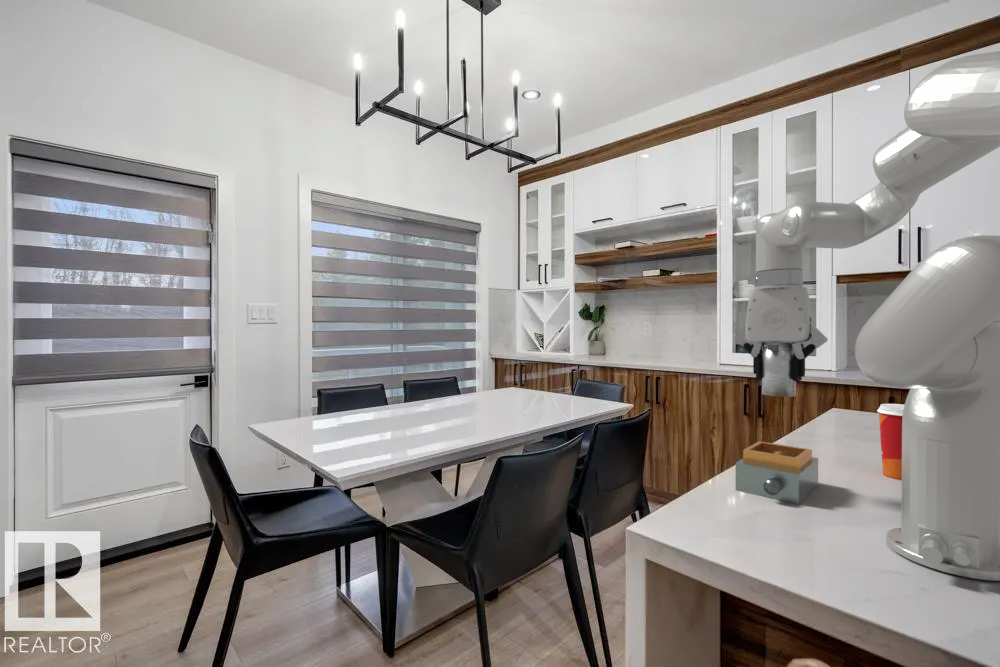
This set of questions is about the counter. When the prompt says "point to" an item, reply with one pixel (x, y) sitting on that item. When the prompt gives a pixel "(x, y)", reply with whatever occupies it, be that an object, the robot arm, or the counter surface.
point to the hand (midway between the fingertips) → (778, 378)
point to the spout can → (778, 369)
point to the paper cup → (891, 439)
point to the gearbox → (777, 471)
